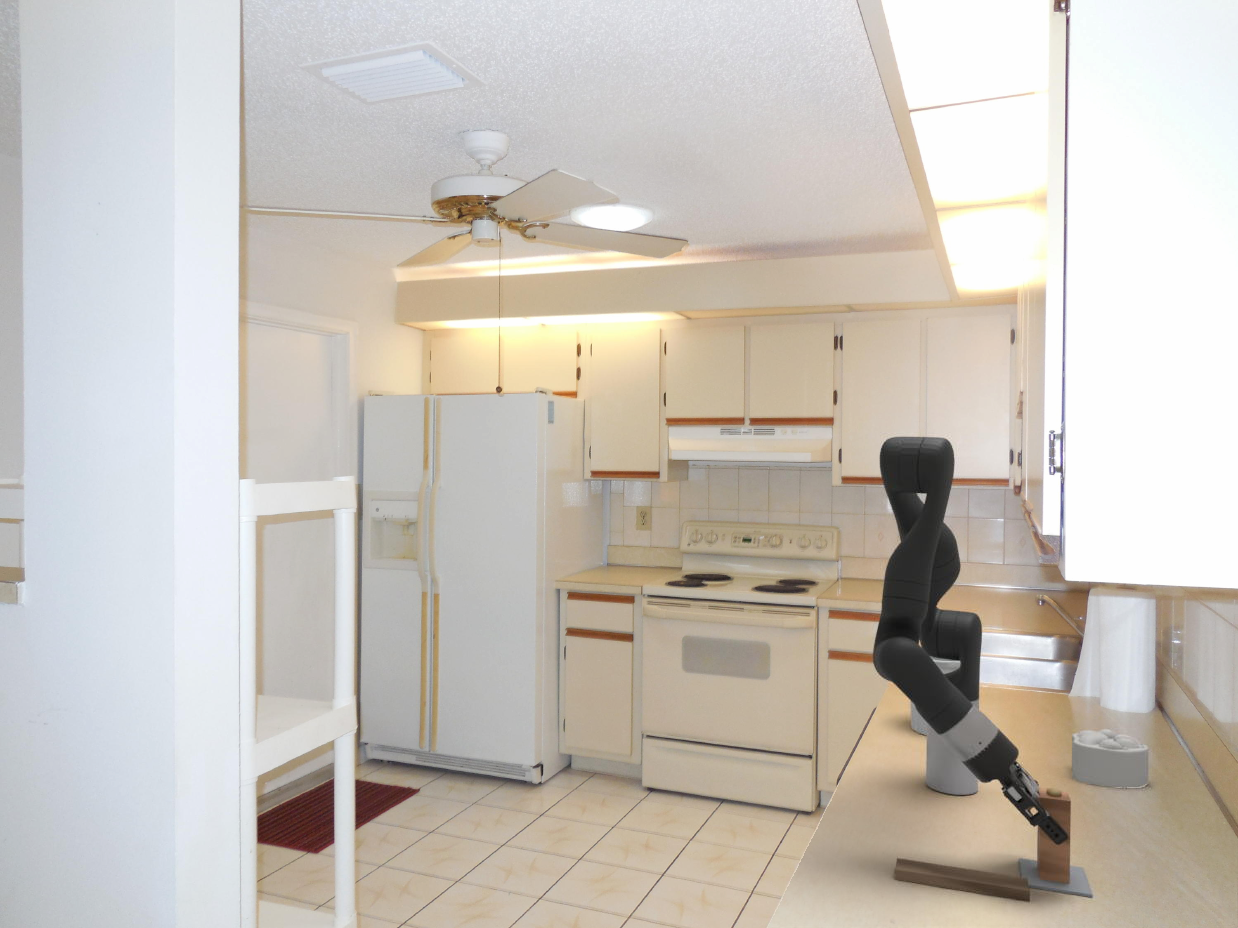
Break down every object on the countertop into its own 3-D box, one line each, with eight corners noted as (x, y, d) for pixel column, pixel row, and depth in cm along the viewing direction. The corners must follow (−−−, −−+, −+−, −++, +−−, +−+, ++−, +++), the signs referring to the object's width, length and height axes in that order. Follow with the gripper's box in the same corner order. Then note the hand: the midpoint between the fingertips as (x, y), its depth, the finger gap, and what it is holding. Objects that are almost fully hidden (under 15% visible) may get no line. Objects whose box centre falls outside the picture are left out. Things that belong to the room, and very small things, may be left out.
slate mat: (1018, 860, 138) (1018, 857, 138) (1083, 869, 135) (1083, 867, 135) (1023, 886, 130) (1023, 883, 130) (1092, 897, 127) (1092, 894, 127)
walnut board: (896, 867, 135) (896, 857, 135) (1027, 888, 129) (1027, 877, 129) (895, 879, 132) (895, 868, 132) (1029, 901, 125) (1029, 890, 125)
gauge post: (1037, 866, 135) (1038, 783, 135) (1066, 871, 134) (1067, 787, 134) (1039, 878, 131) (1040, 792, 131) (1069, 883, 130) (1070, 796, 130)
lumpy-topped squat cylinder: (1071, 765, 182) (1071, 723, 182) (1145, 775, 177) (1145, 731, 176) (1073, 782, 173) (1074, 737, 172) (1151, 793, 167) (1152, 747, 167)
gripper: (999, 740, 128) (1087, 832, 125) (994, 714, 142) (1074, 796, 138) (959, 772, 130) (1045, 864, 127) (958, 743, 144) (1035, 825, 140)
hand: (1060, 829), depth 132 cm, fingers open, 8 cm apart
